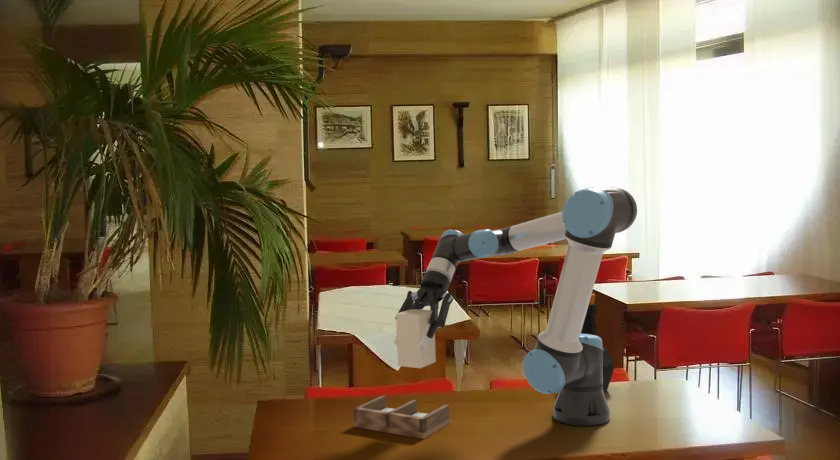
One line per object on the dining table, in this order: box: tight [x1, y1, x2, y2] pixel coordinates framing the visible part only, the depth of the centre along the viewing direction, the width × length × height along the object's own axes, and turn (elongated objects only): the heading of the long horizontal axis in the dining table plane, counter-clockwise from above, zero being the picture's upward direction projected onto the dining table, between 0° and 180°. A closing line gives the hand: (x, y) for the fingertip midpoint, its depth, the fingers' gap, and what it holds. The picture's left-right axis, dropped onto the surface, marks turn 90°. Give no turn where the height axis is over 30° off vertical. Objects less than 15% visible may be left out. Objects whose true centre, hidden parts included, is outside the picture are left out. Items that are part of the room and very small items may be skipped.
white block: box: [395, 309, 437, 369], centre depth 200 cm, size 7×8×14 cm
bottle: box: [581, 292, 615, 393], centre depth 231 cm, size 16×16×30 cm
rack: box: [353, 395, 451, 440], centre depth 201 cm, size 22×14×5 cm, turn 60°
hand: (409, 345), depth 197 cm, fingers closed on white block, 7 cm apart
